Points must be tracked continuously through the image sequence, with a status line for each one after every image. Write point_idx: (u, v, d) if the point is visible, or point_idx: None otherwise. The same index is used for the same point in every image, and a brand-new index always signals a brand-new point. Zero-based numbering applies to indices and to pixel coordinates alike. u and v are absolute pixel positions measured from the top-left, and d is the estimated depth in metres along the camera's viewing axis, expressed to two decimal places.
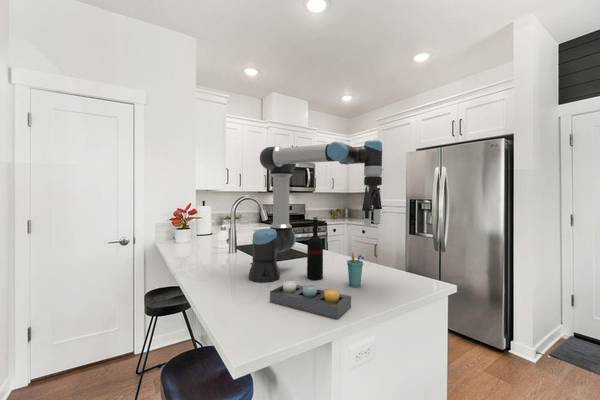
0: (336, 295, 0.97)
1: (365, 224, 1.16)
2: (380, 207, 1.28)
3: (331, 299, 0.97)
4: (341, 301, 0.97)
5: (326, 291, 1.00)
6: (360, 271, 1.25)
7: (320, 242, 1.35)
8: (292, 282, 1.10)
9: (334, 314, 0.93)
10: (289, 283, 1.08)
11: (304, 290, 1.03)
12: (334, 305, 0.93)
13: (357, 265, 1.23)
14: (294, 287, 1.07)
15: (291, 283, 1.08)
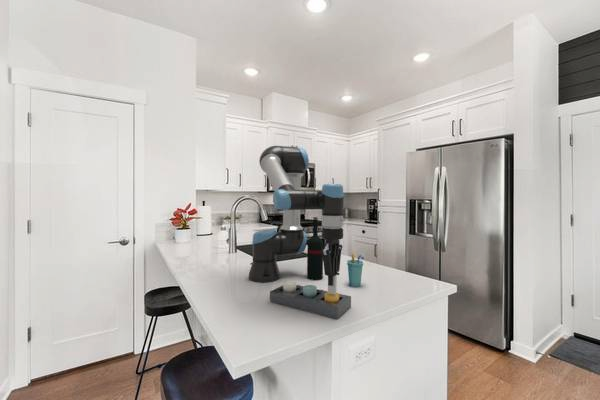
0: (336, 297, 0.97)
1: (329, 291, 0.99)
2: (337, 273, 1.00)
3: None
4: (341, 301, 0.97)
5: (326, 293, 1.00)
6: (360, 271, 1.25)
7: (320, 242, 1.35)
8: (292, 282, 1.10)
9: (334, 314, 0.93)
10: (289, 283, 1.08)
11: (304, 290, 1.03)
12: (334, 305, 0.93)
13: (357, 265, 1.23)
14: (294, 287, 1.07)
15: (291, 283, 1.08)
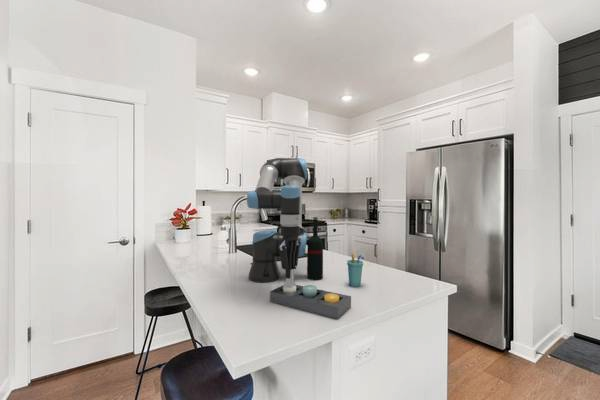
0: (336, 299, 0.97)
1: (287, 284, 1.08)
2: (294, 267, 1.09)
3: None
4: (341, 301, 0.97)
5: (326, 295, 1.00)
6: (360, 271, 1.25)
7: (320, 242, 1.35)
8: None
9: (334, 314, 0.93)
10: (289, 287, 1.08)
11: (304, 290, 1.03)
12: (334, 305, 0.93)
13: (357, 265, 1.23)
14: (294, 290, 1.07)
15: None
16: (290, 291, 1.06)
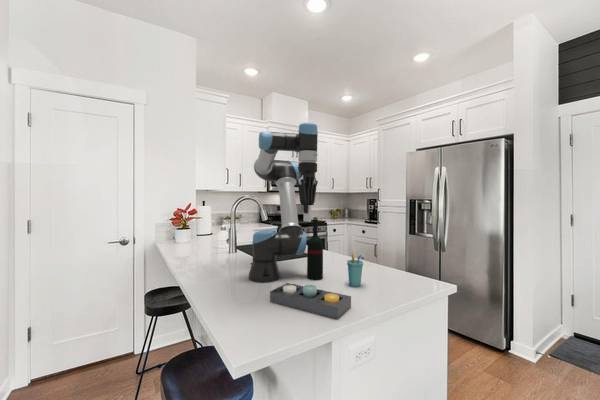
0: (336, 299, 0.97)
1: (304, 219, 1.12)
2: (312, 203, 1.13)
3: None
4: (341, 301, 0.97)
5: (326, 295, 1.00)
6: (360, 271, 1.25)
7: (320, 242, 1.35)
8: (292, 286, 1.10)
9: (334, 314, 0.93)
10: (289, 287, 1.08)
11: (304, 290, 1.03)
12: (334, 305, 0.93)
13: (357, 265, 1.23)
14: (294, 291, 1.07)
15: (291, 287, 1.08)
16: (290, 292, 1.06)
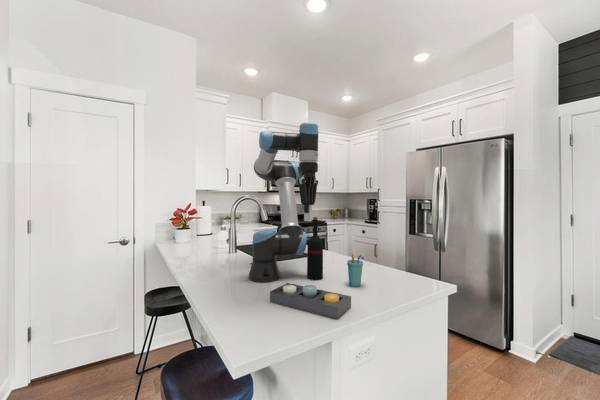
0: (336, 299, 0.97)
1: (305, 219, 1.12)
2: None
3: None
4: (341, 301, 0.97)
5: (326, 295, 1.00)
6: (360, 271, 1.25)
7: (320, 242, 1.35)
8: (292, 286, 1.10)
9: (334, 314, 0.93)
10: (289, 287, 1.08)
11: (304, 290, 1.03)
12: (334, 305, 0.93)
13: (357, 265, 1.23)
14: (294, 291, 1.07)
15: (291, 287, 1.08)
16: (290, 292, 1.06)
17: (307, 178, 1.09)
